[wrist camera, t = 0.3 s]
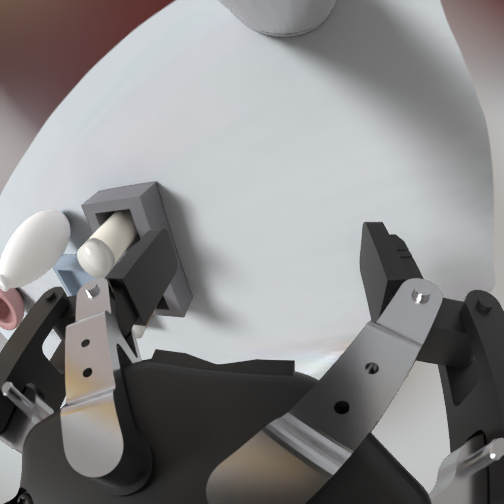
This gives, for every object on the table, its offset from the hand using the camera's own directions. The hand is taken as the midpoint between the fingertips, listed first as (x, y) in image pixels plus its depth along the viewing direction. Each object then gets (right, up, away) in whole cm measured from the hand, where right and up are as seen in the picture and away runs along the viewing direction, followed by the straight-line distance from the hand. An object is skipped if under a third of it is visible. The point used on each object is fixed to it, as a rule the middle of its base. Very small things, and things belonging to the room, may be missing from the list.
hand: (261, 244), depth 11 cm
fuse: (-15, +4, +22) cm, 27 cm away
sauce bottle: (-29, +5, +24) cm, 38 cm away
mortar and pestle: (-62, -11, +42) cm, 76 cm away
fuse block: (-15, 0, +25) cm, 29 cm away
